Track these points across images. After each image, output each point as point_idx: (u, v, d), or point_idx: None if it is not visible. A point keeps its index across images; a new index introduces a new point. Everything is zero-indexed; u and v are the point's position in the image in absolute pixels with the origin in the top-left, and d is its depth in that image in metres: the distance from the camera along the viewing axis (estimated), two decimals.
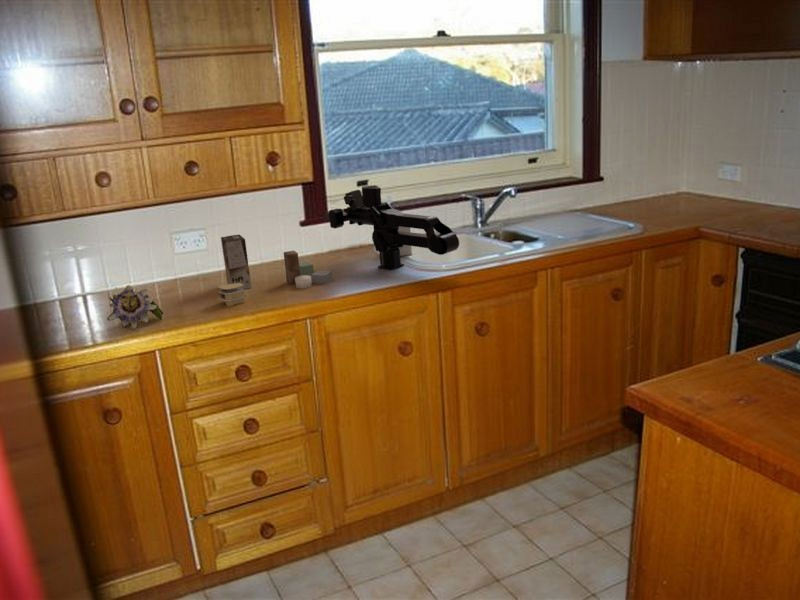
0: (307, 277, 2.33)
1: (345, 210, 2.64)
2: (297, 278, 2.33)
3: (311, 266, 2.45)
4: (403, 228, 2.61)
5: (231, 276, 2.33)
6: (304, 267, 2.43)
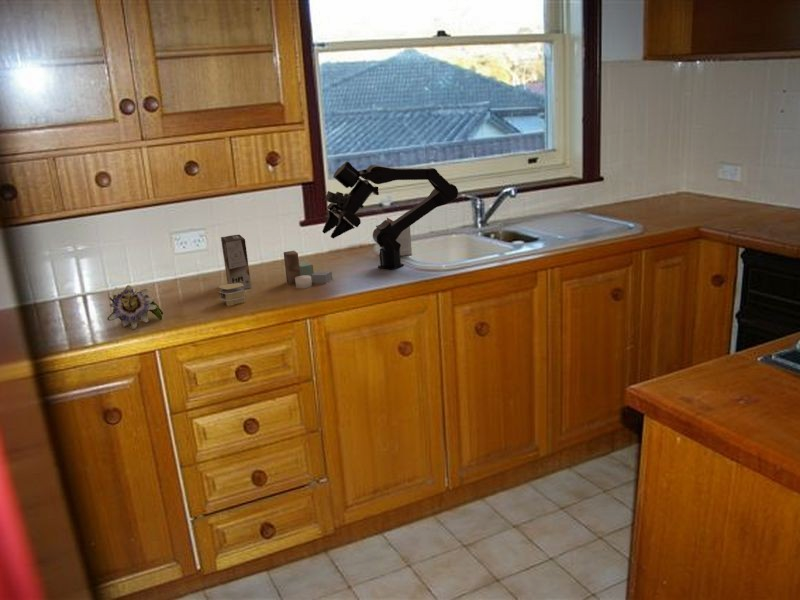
0: (307, 277, 2.33)
1: (325, 230, 2.44)
2: (297, 278, 2.33)
3: (311, 266, 2.45)
4: None
5: (231, 276, 2.33)
6: (304, 267, 2.43)
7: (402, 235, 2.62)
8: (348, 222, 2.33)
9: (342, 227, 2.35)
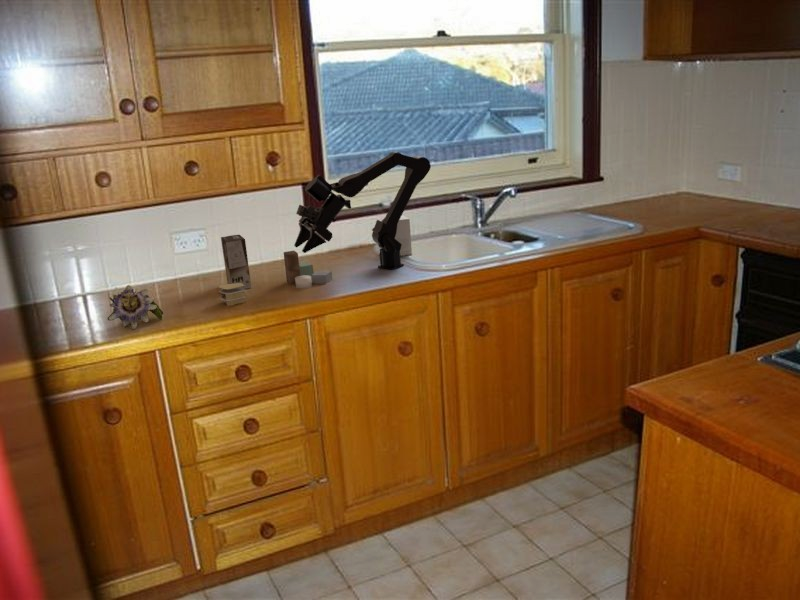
0: (307, 277, 2.33)
1: (297, 244, 2.41)
2: (297, 278, 2.33)
3: (311, 266, 2.45)
4: (403, 228, 2.61)
5: (231, 276, 2.33)
6: (304, 267, 2.43)
7: (402, 235, 2.62)
8: (320, 236, 2.30)
9: (314, 241, 2.32)
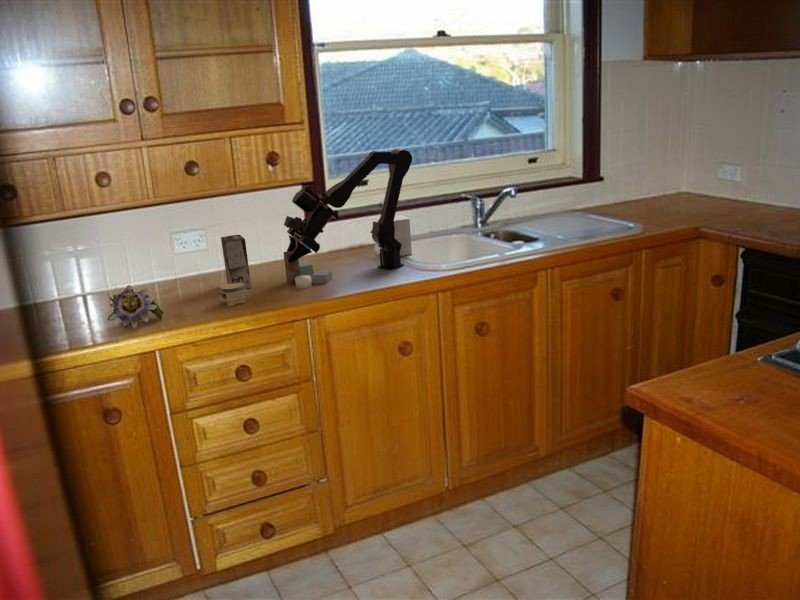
0: (307, 277, 2.33)
1: None
2: (297, 278, 2.33)
3: (311, 266, 2.44)
4: (403, 228, 2.61)
5: (231, 276, 2.33)
6: (304, 267, 2.43)
7: (402, 235, 2.62)
8: (305, 246, 2.32)
9: (299, 251, 2.34)
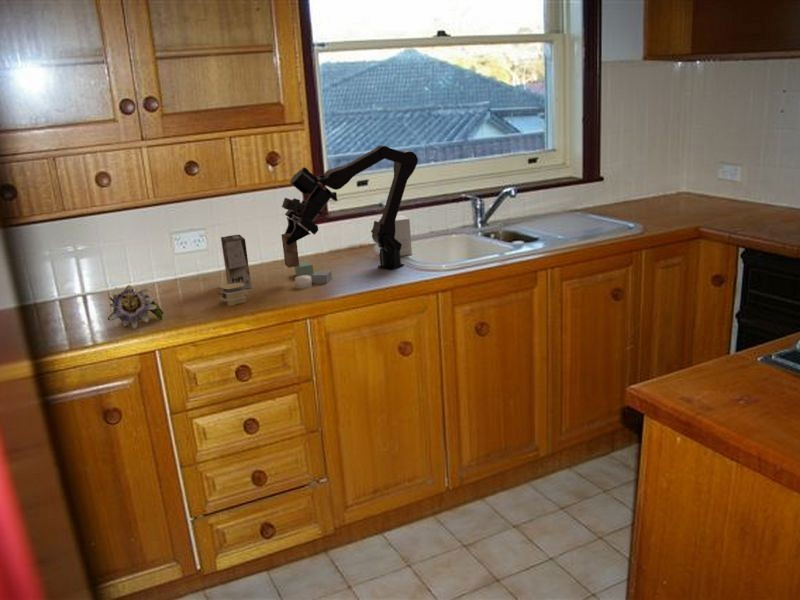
0: (307, 277, 2.33)
1: None
2: (297, 278, 2.33)
3: (311, 266, 2.44)
4: (403, 228, 2.61)
5: (231, 276, 2.33)
6: (303, 267, 2.43)
7: (402, 235, 2.62)
8: (303, 228, 2.30)
9: (298, 233, 2.32)
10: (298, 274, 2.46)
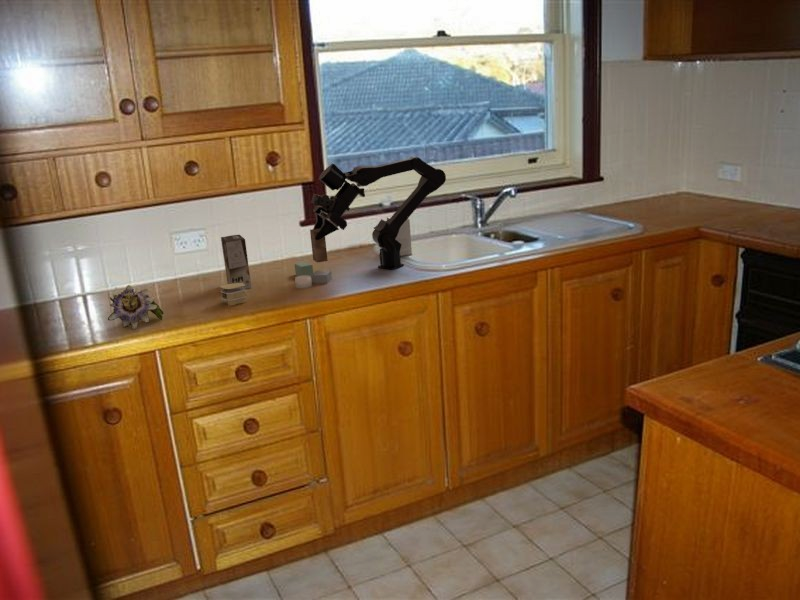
0: (307, 277, 2.33)
1: None
2: (297, 278, 2.33)
3: (310, 266, 2.44)
4: (403, 228, 2.61)
5: (231, 276, 2.33)
6: (303, 267, 2.43)
7: (402, 235, 2.62)
8: (332, 224, 2.33)
9: (326, 229, 2.35)
10: (298, 274, 2.46)
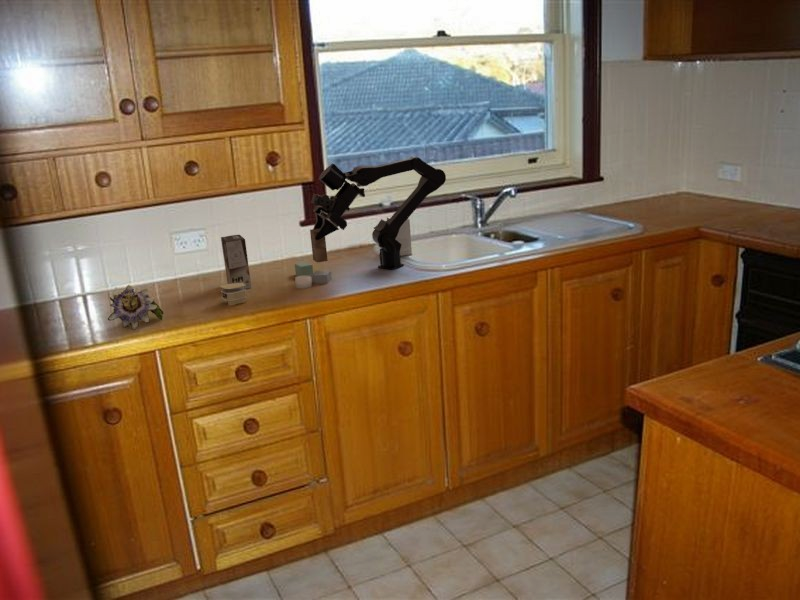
0: (307, 277, 2.33)
1: None
2: (297, 278, 2.33)
3: (310, 266, 2.44)
4: (403, 228, 2.61)
5: (231, 276, 2.33)
6: (303, 267, 2.43)
7: (402, 235, 2.62)
8: (332, 224, 2.33)
9: (326, 229, 2.35)
10: (298, 274, 2.46)
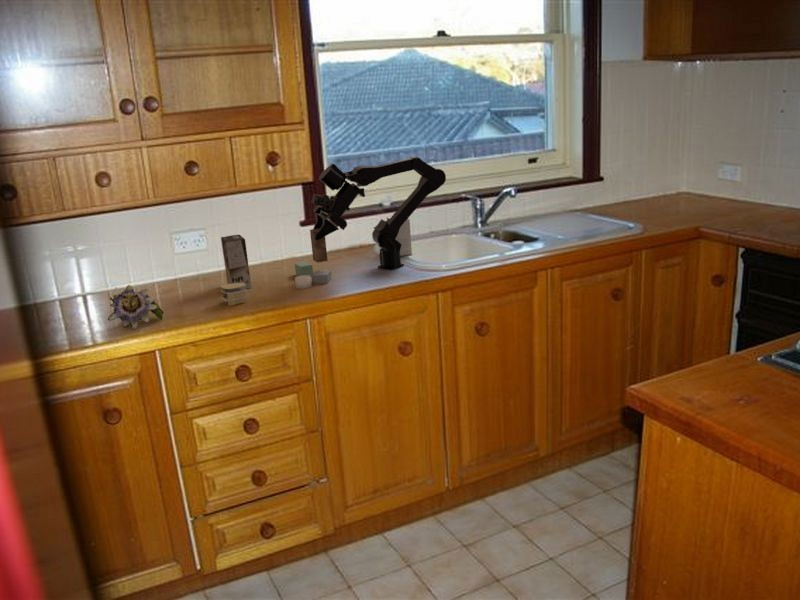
0: (307, 277, 2.33)
1: None
2: (297, 278, 2.33)
3: (310, 266, 2.44)
4: (403, 228, 2.61)
5: (231, 276, 2.33)
6: (303, 267, 2.43)
7: (402, 235, 2.62)
8: (332, 224, 2.33)
9: (326, 229, 2.35)
10: (298, 274, 2.47)
